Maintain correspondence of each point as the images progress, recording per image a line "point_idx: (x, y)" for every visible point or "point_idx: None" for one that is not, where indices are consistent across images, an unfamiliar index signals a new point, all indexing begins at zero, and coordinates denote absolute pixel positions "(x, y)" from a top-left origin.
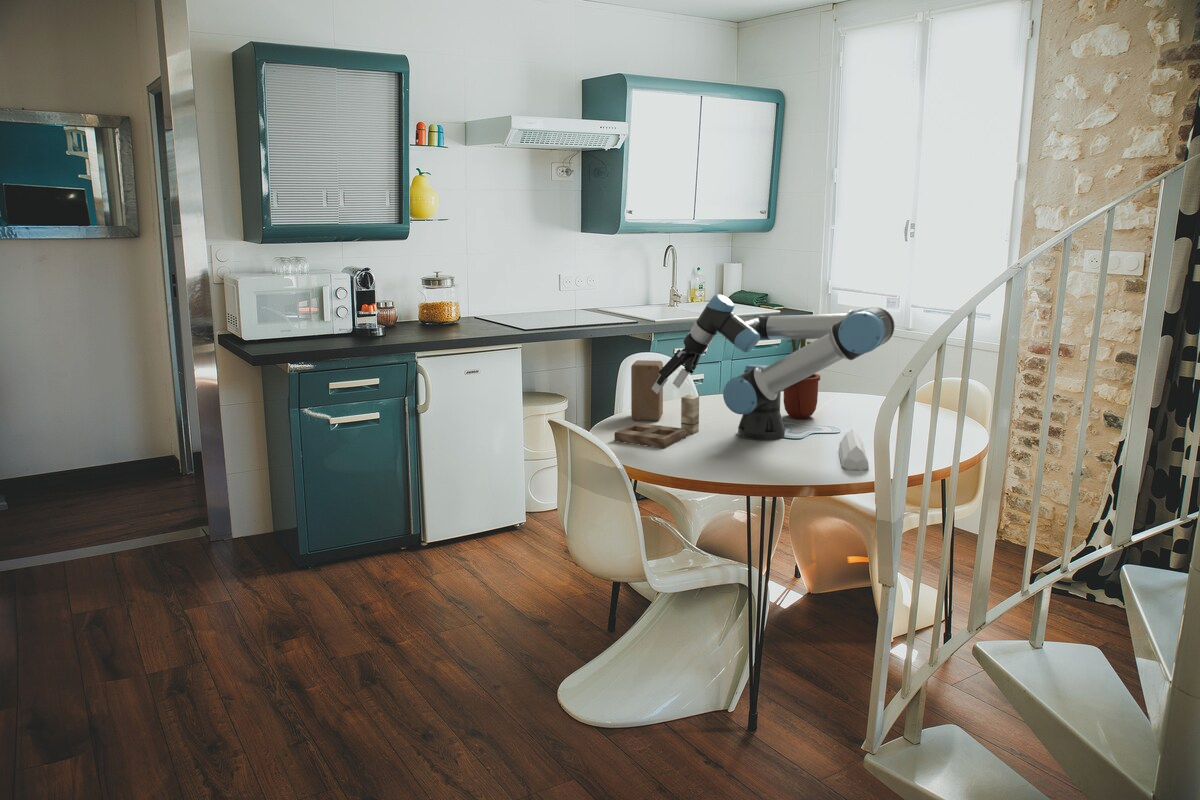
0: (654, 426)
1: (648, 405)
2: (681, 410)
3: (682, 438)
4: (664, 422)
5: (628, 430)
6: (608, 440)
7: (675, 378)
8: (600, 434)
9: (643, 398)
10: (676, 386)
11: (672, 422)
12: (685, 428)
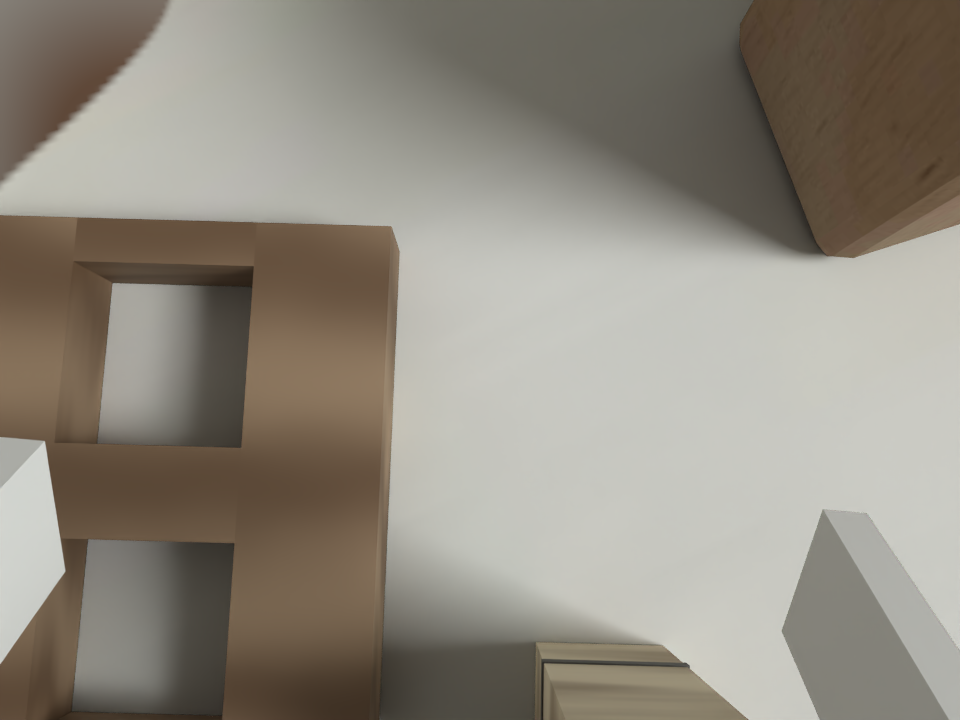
0: (318, 455)
1: (846, 113)
2: (558, 702)
3: None
4: (819, 326)
5: (60, 299)
6: (7, 179)
7: (873, 593)
8: (165, 29)
9: (863, 17)
10: (793, 600)
11: (858, 393)
12: (539, 703)
